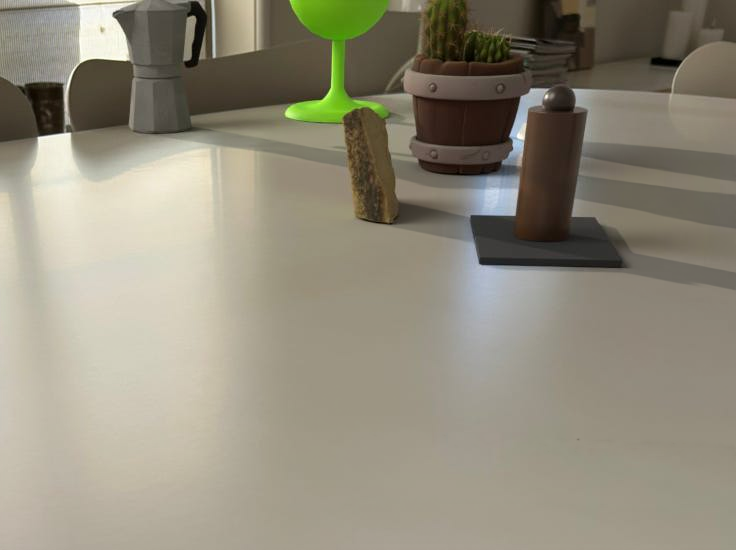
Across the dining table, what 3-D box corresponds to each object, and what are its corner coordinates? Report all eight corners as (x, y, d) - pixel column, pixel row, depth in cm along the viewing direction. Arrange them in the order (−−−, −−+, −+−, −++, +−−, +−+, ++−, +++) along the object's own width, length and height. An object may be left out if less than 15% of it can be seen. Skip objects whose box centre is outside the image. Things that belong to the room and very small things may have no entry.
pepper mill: (565, 229, 99) (587, 80, 92) (571, 242, 95) (595, 88, 88) (510, 228, 100) (528, 80, 93) (515, 241, 96) (534, 87, 89)
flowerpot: (488, 152, 135) (507, -33, 124) (542, 175, 123) (570, -28, 112) (380, 158, 133) (390, -30, 121) (425, 182, 120) (441, -25, 109)
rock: (355, 170, 115) (301, 171, 107) (405, 104, 109) (351, 100, 102) (415, 246, 113) (363, 252, 106) (468, 183, 107) (417, 184, 100)
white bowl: (538, 145, 139) (562, 141, 142) (541, 120, 138) (566, 117, 140) (509, 140, 143) (534, 136, 145) (512, 116, 141) (537, 112, 144)
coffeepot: (139, 137, 147) (130, -15, 137) (104, 129, 153) (92, -17, 143) (228, 125, 155) (225, -19, 145) (191, 118, 161) (185, -21, 151)
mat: (594, 223, 104) (595, 217, 103) (621, 267, 90) (622, 260, 90) (469, 221, 105) (470, 214, 104) (478, 264, 92) (479, 257, 91)
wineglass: (358, 125, 154) (364, -20, 144) (265, 117, 161) (264, -22, 151) (406, 111, 165) (414, -25, 155) (316, 104, 172) (319, -26, 162)
